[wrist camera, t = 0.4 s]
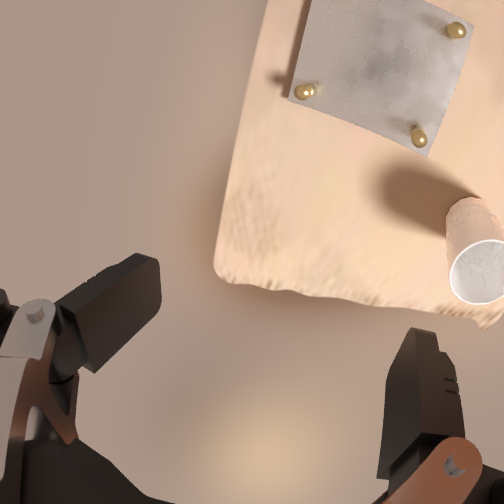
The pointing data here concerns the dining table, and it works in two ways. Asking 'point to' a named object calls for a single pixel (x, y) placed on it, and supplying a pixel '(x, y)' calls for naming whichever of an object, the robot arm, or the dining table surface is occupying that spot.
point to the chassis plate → (382, 66)
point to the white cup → (475, 252)
